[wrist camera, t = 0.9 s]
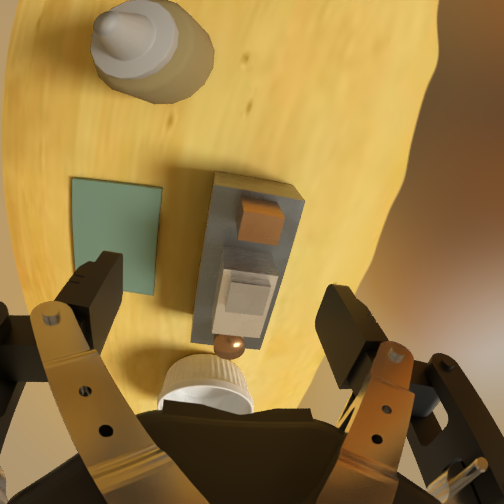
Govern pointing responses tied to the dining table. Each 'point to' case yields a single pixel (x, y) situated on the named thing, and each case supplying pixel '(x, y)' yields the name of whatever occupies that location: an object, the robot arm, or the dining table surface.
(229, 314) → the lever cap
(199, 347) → the dining table surface
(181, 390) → the ramekin
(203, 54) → the squeeze bottle
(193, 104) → the dining table surface
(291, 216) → the plane body
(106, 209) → the mat
